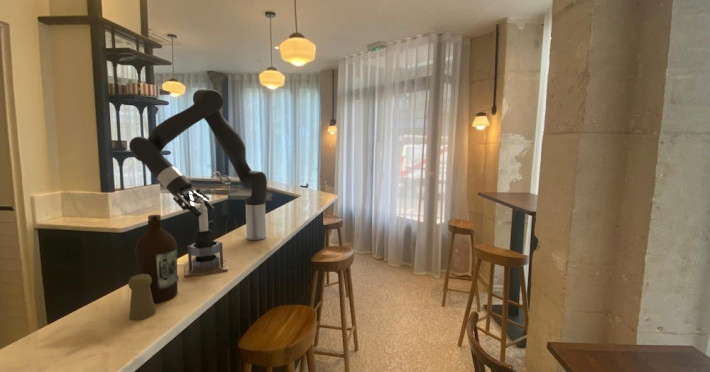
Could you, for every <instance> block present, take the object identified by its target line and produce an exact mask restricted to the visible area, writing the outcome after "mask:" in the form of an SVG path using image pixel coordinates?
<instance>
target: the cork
mask: <svg viewBox="0 0 710 372" xmlns="http://www.w3.org/2000/svg"><path fill="white" fill-rule="evenodd" d="M151 282H152V278H151V276H150V275H149V274H138V273H137V274H136V275H133V276H131V277H130V278H129V280H128V283H127V284H128V287H129V289H130V290H131V291H130V292H131V293H130V303H129V304H130V305H129V316H128V318H129V320H131V321H142V320H146V319H148V318H151V317H153V316H154V315H155V314H156V312H157V310H156V307H155V303H154V302H153V297H152V293H151V289H150V285H151Z"/></svg>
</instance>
